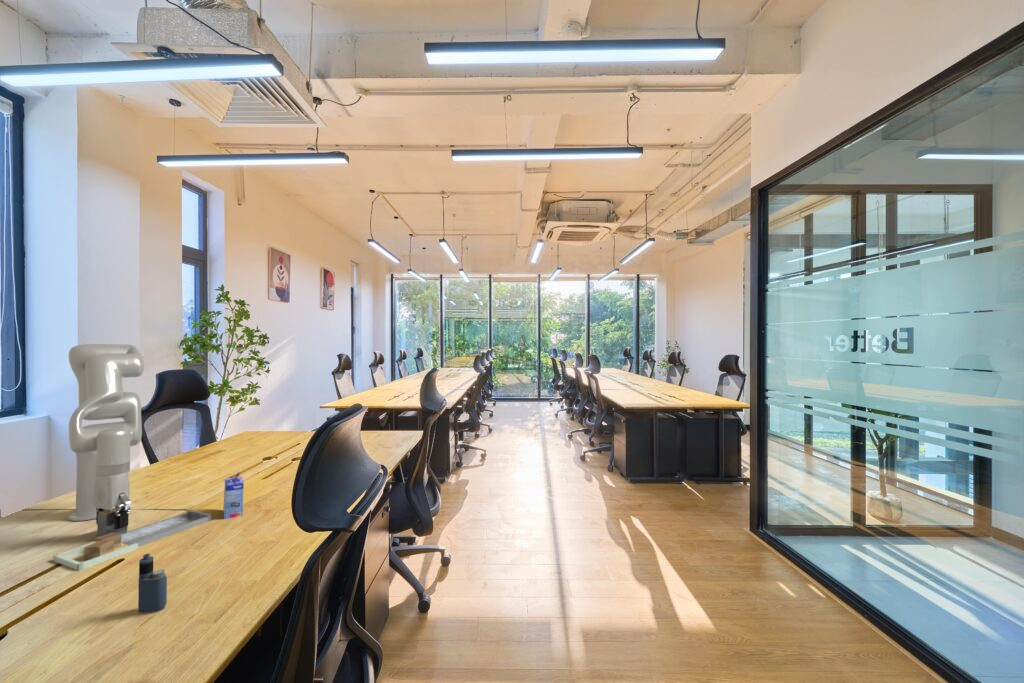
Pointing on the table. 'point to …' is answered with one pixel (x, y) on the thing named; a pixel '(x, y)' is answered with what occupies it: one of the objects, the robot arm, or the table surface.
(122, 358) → the robot arm
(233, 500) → the ink cartridge box
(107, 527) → the orange and gray block
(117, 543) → the tan cardboard cube
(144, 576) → the vaping device
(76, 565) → the tray
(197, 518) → the open rectangular box
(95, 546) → the brown cube
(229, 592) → the table surface
